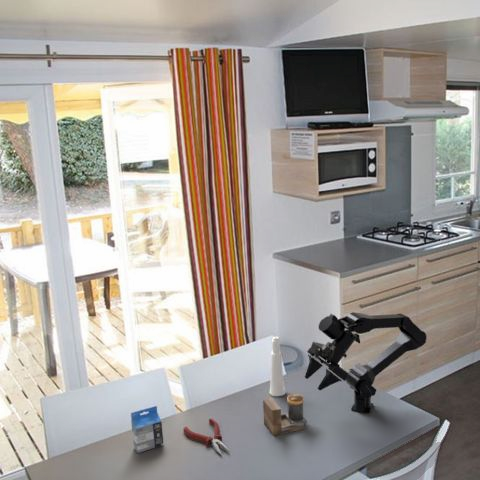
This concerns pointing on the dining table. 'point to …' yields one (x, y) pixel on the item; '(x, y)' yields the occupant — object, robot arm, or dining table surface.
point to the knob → (295, 409)
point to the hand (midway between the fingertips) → (312, 383)
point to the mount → (277, 419)
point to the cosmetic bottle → (276, 370)
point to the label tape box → (146, 429)
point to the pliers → (208, 440)
